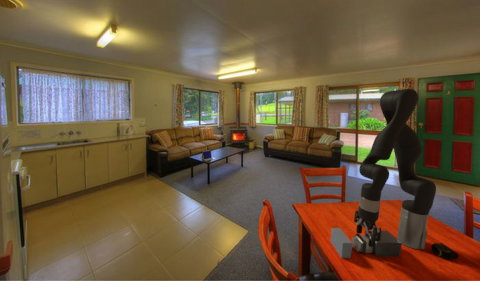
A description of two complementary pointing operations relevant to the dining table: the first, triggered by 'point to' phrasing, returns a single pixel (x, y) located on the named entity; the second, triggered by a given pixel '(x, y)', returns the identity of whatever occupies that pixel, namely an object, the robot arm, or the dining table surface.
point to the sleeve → (387, 245)
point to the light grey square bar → (362, 244)
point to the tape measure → (444, 251)
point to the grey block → (341, 243)
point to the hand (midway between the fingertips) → (364, 239)
